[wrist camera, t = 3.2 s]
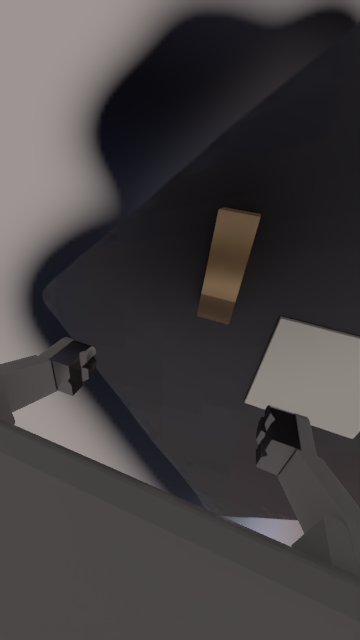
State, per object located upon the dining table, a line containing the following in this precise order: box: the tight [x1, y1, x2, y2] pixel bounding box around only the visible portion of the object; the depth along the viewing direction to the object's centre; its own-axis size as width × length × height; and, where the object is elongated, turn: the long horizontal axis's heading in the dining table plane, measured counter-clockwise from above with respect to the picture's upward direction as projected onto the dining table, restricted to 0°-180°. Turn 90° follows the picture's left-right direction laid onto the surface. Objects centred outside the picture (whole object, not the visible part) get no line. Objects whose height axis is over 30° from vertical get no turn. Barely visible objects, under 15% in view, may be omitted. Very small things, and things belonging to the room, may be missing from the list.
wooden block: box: [197, 207, 261, 325], centre depth 26 cm, size 12×4×4 cm, turn 172°
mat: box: [245, 316, 360, 439], centre depth 31 cm, size 16×16×1 cm
